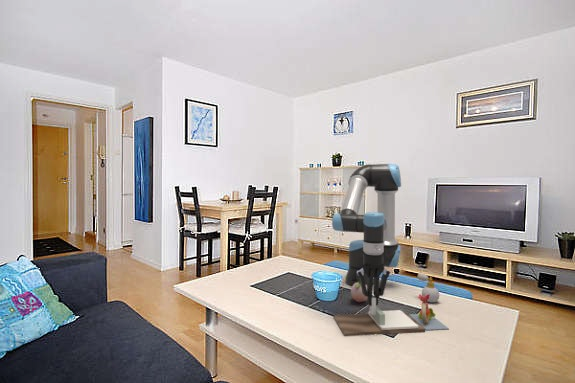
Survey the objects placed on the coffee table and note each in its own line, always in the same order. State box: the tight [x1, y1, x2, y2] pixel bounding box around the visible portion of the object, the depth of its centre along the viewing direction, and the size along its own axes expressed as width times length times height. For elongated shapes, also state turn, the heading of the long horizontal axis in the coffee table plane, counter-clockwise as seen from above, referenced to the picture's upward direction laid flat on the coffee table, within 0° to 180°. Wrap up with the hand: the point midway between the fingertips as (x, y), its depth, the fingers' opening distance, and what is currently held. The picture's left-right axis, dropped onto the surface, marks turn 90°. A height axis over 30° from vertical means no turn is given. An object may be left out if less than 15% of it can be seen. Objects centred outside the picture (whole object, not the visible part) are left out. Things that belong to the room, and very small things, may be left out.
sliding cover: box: [367, 305, 419, 330], centre depth 118 cm, size 14×14×5 cm
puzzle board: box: [333, 311, 426, 337], centre depth 118 cm, size 15×30×1 cm, turn 96°
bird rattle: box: [417, 294, 436, 324], centre depth 119 cm, size 6×11×9 cm
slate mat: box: [408, 313, 450, 332], centre depth 120 cm, size 13×9×1 cm
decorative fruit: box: [350, 281, 367, 303], centre depth 139 cm, size 9×8×10 cm
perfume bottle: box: [417, 272, 440, 304], centre depth 141 cm, size 8×10×12 cm
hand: (372, 313), depth 118 cm, fingers closed
